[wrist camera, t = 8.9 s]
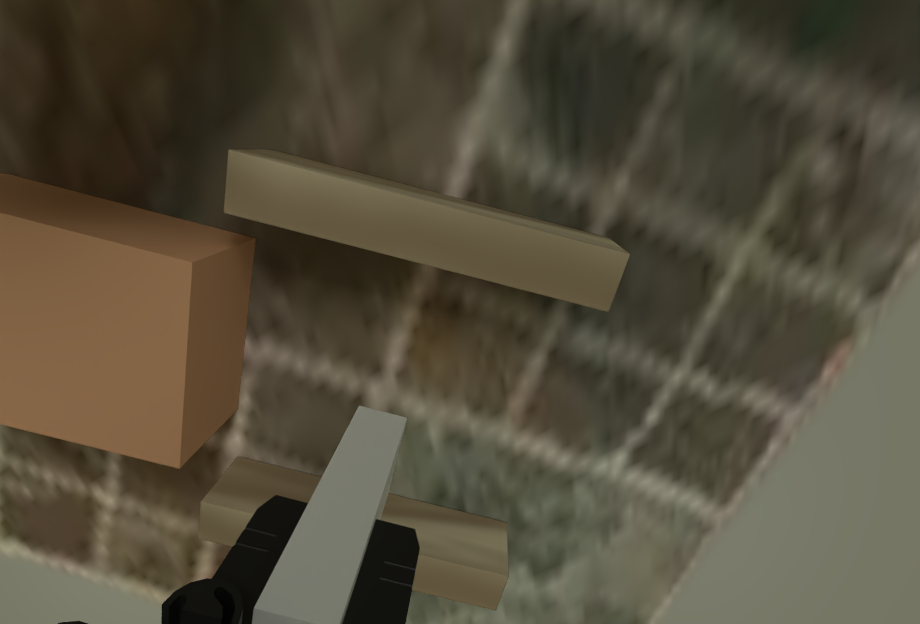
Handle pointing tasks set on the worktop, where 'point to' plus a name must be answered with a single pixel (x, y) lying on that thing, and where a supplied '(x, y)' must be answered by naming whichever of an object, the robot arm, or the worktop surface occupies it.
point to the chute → (430, 243)
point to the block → (118, 322)
